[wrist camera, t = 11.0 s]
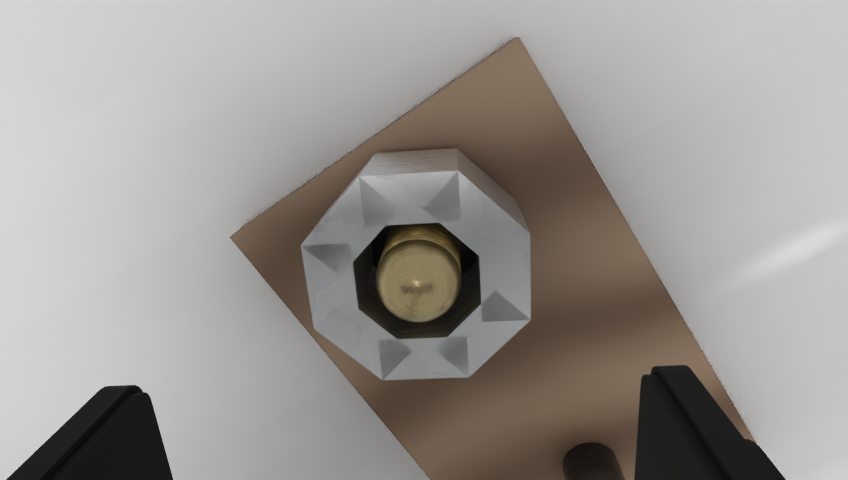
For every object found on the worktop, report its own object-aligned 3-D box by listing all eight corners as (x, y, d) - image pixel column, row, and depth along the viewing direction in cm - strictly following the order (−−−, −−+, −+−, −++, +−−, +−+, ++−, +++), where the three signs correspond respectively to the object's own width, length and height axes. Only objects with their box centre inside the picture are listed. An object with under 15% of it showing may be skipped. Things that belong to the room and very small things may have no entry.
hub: (480, 310, 22) (490, 398, 16) (342, 283, 21) (306, 363, 16) (515, 176, 20) (538, 224, 14) (363, 145, 20) (330, 183, 14)
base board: (753, 444, 25) (768, 464, 23) (507, 553, 28) (510, 575, 26) (514, 37, 19) (518, 37, 18) (241, 227, 22) (229, 237, 21)
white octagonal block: (432, 357, 21) (428, 415, 18) (293, 249, 20) (262, 290, 17) (556, 236, 19) (578, 275, 16) (412, 108, 18) (403, 123, 15)
